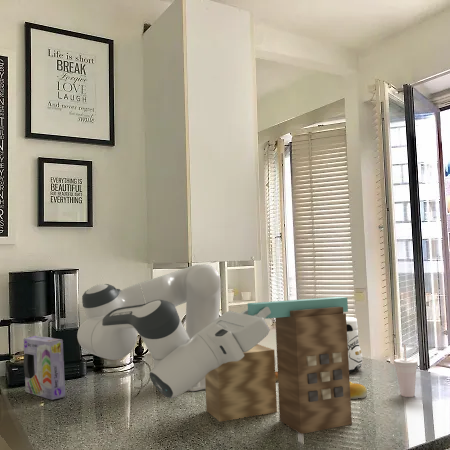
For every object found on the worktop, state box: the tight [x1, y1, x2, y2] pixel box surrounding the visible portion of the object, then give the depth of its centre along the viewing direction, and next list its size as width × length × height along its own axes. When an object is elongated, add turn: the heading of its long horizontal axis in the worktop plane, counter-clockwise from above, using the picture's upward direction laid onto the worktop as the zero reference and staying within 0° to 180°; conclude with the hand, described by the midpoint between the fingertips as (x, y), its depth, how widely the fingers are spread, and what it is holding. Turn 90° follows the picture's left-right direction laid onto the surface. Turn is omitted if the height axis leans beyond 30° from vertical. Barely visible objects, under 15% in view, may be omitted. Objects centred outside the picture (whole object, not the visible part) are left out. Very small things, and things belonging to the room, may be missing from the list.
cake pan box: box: [23, 335, 66, 401], centre depth 149 cm, size 19×5×18 cm, turn 47°
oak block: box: [205, 343, 278, 423], centre depth 126 cm, size 16×10×16 cm, turn 112°
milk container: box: [346, 316, 363, 373], centre depth 168 cm, size 17×17×18 cm
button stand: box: [274, 307, 353, 435], centre depth 115 cm, size 14×11×28 cm
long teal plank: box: [247, 296, 349, 320], centre depth 115 cm, size 26×4×4 cm, turn 112°
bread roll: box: [350, 381, 368, 400], centre depth 137 cm, size 8×9×4 cm
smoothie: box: [393, 344, 418, 398], centre depth 135 cm, size 6×6×14 cm
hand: (263, 308), depth 112 cm, fingers closed on long teal plank, 3 cm apart
